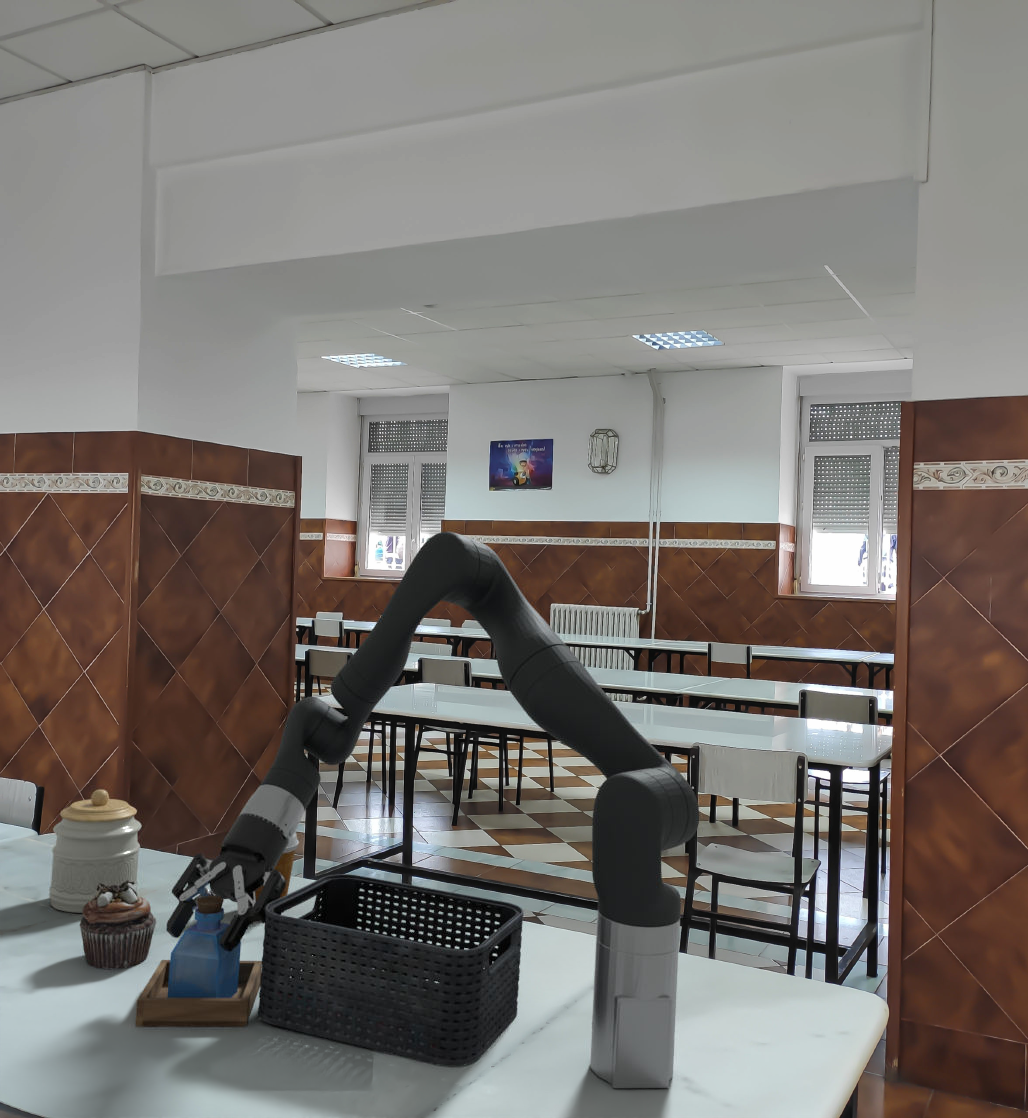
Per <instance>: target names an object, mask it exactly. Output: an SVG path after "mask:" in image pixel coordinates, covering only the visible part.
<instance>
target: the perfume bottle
mask: <svg viewBox="0 0 1028 1118" xmlns="http://www.w3.org/2000/svg"><path fill="white" fill-rule="evenodd" d="M224 901H225V899H223V898H221V897H217V896H206V897H201V898H199V899H198V900H197V904H198V908H196V909H195V910H194V920H195V921H196V923H194V924H193V925H191V926H190V927H189V928H187V929H184V931H183V934H181V936H180V939H179V940H178V941H177V943H176V944H175V946H174V948H172V950H171V952H170V959H169V960H170V971H169V983H168V996H167V998H231V997H232V996H233V995H234V994H236V993H237V989H238V976H239V963H240V961H241V949H242V947H241V946H242V940H241V941H240V943H239V944H238V945H237V946H236V948H233V950H232V951H231V952H229V951H225V950H224V949H223V948H222V947H221V945H220V943H219V942H220V939H221V937H222V936H223V934H224V932H225V930H226V929H227V927H228V925H229V923H224V922H222V920H224V917H225V915H224V914H225V909H224V908H223V904H224Z"/></svg>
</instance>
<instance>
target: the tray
mask: <svg viewBox="0 0 1028 1118" xmlns="http://www.w3.org/2000/svg"><path fill="white" fill-rule="evenodd" d="M169 971H170V959H162V960H161V961H160V962H159V964H158V965H157V967H156V969H155V970H154V972H153V973H152V975H151V977H150V978H149V980H148V982H147V983H146V985H145V987H144V988H143V990H142V991H141V993H140V994H139V996H138V997H137V999H136V1006H135V1007H136V1009H135V1010H136V1011H135V1012H136V1013H135V1023H134V1024H135V1025H134V1026H135V1027H181V1028H183V1027H202V1028H203V1027H204V1028H205V1027H210V1028H211V1027H212V1028H213V1027H221V1028H222V1027H223V1028H224V1027H227V1028H228V1027H229V1028H231V1027H232V1028H233V1027H235V1028H237V1027H241V1028H242V1027H244V1028H247V1025H248V1023H249V1020H250V1017H251V1014H252V1011H253V1008H254V1006H255V1002H256V1000H257V996H258V994H259V992H260V986H261V980H260V976H261V971H262V960H240V963H239V976H238V989H237V993H236V994H234V995H233V996H232V997H231V998H167V996H168V983H169Z"/></svg>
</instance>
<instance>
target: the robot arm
mask: <svg viewBox="0 0 1028 1118" xmlns="http://www.w3.org/2000/svg"><path fill="white" fill-rule="evenodd" d="M441 601H443V602H446V603H450V604H453V605H457V606H459V607H460V608H463V609H464V610H465V611H466V612H468V613H469V614H470V615H471V617H472V618H473V619H475V620H476V622H477V623H478V624H479V626H481V628H482V629H483V630H484V631H485V632H486V634H487V635H488V637H489V638H490V640H491V642H492V644H493V646H494V647H493V648H494V650H495V651H494V652H495V656H496V657H495V658H496V662H497V667H498V671H499V674H500V676H501V679H502V681H503V683H504V684H505V686H506V688H507V690H508V691H509V692H510V694H511V695H512V696H513V698H514V699H515V700H516V702H517V703H518V704H519V705H520V706H521V708H522V709H523V711H524V712H525V713H526V714H527V716H528V717H529V718H530V719H531V720H532V722H534V723H535V724H536V726H538V727H539V728H541V730H543V731H544V732H546V733H547V734H548V735H550V736H551V737H553V738H554V739H556V740H557V741H559V742H560V743H562V744H563V745H565V746H567V747H568V748H570V749H571V750H573V751H574V752H576V753H578V754H579V755H581V756H582V757H584V758H585V759H586V760H588V761H589V762H590V763H591V764H592V765H593V766H595V768H596V769H597V770H599V772H600V773H601V774H602V776H604V777H605V779H606V780H604V782H603V783H602V784H601V785H600V787H599V789H598V791H597V793H596V797H595V799H594V804H593V809H592V810H593V811H592V820H591V821H592V825H591V829H592V830H591V835H592V837H591V838H592V839H591V840H592V841H591V843H592V844H591V845H592V846H591V847H592V848H591V849H592V850H591V851H592V852H591V855H592V858H591V862H592V863H591V864H592V866H591V868H592V869H591V871H592V873H591V874H592V880H593V881H592V882H593V886H594V888H595V892H596V894H597V895H596V896H597V919H596V937H595V938H596V939H595V958H594V960H595V961H594V974H593V975H594V976H593V977H594V978H593V979H594V980H593V999H592V1016H591V1017H592V1018H591V1019H592V1021H591V1039H590V1040H591V1043H590V1044H591V1046H590V1068H591V1070H592V1072H593V1073H594V1074H595V1075H596V1076H598V1077H599V1078H601V1079H603V1080H604V1081H606V1082H608V1083H610V1085H611V1086H612V1088H614V1089H663V1088H664V1089H665V1088H667V1089H669V1087H670V1080H671V1079H672V1077H673V1075H674V1062H675V1061H674V1060H675V1059H674V1058H675V1038H676V1037H675V1036H676V1035H675V1034H676V1013H677V1011H676V1009H677V993H678V992H677V991H678V989H677V988H678V969H679V965H678V964H679V947H680V946H679V945H680V929H681V928H680V926H681V910H682V909H681V907H682V897H681V894H680V892H679V890H677V888H675V887H674V886H673V885H671V884H669V883H667V882H664V881H663V876H662V873H663V871H662V852H663V851H666V850H667V851H668V850H670V849H673V848H677V847H679V846H681V845H683V844H685V843H688V842H689V841H690V840H691V839H692V838H693V837H694V836H695V834H696V832H697V830H698V827H699V824H700V807H699V802H698V800H697V797H696V794H695V792H694V791H693V788H692V787H691V785H690V784H689V782H688V781H687V780H686V778H685V777H684V776H683V775H682V773H680V771H678V769H677V768H676V767H675V766H674V765H672V763H670V762H669V760H668V759H667V758H665V757H664V755H662V754H661V753H660V751H658V750H657V749H656V748H655V746H653V745H652V744H651V743H650V741H648V740H647V739H646V738H645V737H644V736H643V735H642V734H641V732H639V731H638V730H637V729H636V728H635V727H634V726H633V725H632V723H631V722H630V721H629V720H628V718H627V717H626V716H625V715H624V714H623V713H622V711H621V710H620V709H619V708H618V706H617V705H616V704H615V703H614V702H613V701H612V699H611V698H610V697H609V696H608V694H606V692H605V691H604V690H603V689H602V688H601V686H600V685H599V684H598V683H597V682H596V680H595V679H594V678H593V677H592V675H591V674H590V673H589V671H588V670H587V668H586V667H585V666H584V664H583V663H582V662H581V661H580V660H579V659H578V657H577V656H576V655H575V654H574V652H572V650H571V649H570V648H569V646H568V645H567V644H566V643H565V642H564V641H563V640H562V638H560V636H559V635H557V633H556V632H555V630H553V628H552V627H551V626H550V625H549V624H548V622H547V621H546V620H545V619H544V618H543V616H541V615H540V614H539V612H538V611H537V610H536V609H535V608H534V607H533V606H532V605H531V604H530V602H529V601H528V600H527V598H526V597H525V595H524V594H523V592H522V591H521V590H520V588H519V587H518V584H516V582H515V580H514V579H513V577H512V576H511V574H510V573H509V571H508V569H507V567H506V566H505V564H504V563H503V561H502V559H501V558H500V557H499V555H498V554H497V553H496V552H495V551H494V550H493V549H492V548H491V547H489V546H488V545H487V544H485V543H483V542H481V541H479V540H476V539H473V538H470V537H467V536H465V535H463V534H459V533H457V532H452V531H441V532H438V533H435V534H434V535H432V536H431V537H429V539H427V540H426V541H425V543H424V544H423V545H422V546H421V547H420V548H419V550H418V552H417V553H416V554H415V556H414V558H413V559H412V561H411V563H410V565H409V566H408V568H407V570H406V572H405V573H404V575H403V577H402V578H401V580H400V581H399V583H398V585H397V587H396V588H395V590H394V591H393V594H392V596H391V598H390V600H389V601H388V603H387V604H386V606H385V608H384V610H383V612H382V613H381V615H380V617H379V618H378V620H377V621H376V623H375V625H374V627H373V628H372V630H371V631H370V632H369V634H367V636H366V638H365V639H364V640H363V642H362V643H361V645H360V646H359V647H358V648H357V649H356V650H355V652H354V653H353V654H352V656H351V657H350V658H349V659H348V660H347V661H346V663H345V664H344V665H343V666H342V668H341V669H340V670H339V671H338V673H337V674H336V675H335V676H334V678H333V680H332V681H331V684H330V692H331V695H332V696H333V699H335V701H336V702H337V704H338V705H340V707H341V708H342V709H343V710H344V712H345V713H346V714H347V716H345V715H344V714H342V713H341V712H339V711H337V709H335V708H333V707H332V706H331V705H329V704H327V703H326V702H325V701H323V700H322V699H320V698H318V697H316V696H307V697H304V698H302V699H300V700H299V701H297V702H296V703H295V704H294V706H293V707H292V708H291V710H289V711H290V712H289V713H288V716H287V718H286V720H285V721H286V722H285V724H284V728H283V732H282V737H281V740H280V744H279V747H278V750H277V754H276V756H275V758H274V760H273V763H272V764H271V767H270V768H269V770H268V771H267V773H266V775H264V778H263V779H262V781H261V783H260V784H259V785H258V788H257V789H256V790H255V792H253V794H252V795H251V796H250V798H249V799H248V801H247V802H245V803H246V804H245V805H244V806H243V808H242V810H241V812H240V813H239V815H238V816H237V818H236V820H235V821H234V823H233V825H232V826H231V828H230V830H229V831H228V833H227V834H226V835H225V837H224V839H223V841H222V844H221V850H220V852H219V854H218V856H216V857H215V858H214V859H213V860H212V859H207V858H205V857H204V855H203V854H202V853H197V854H195V855H194V857H193V858H192V860H191V861H190V862H189V864H188V865H187V867H186V868H185V870H184V871H183V873H182V874H181V876H180V877H179V879H178V880H177V882H176V883H175V884H174V886H173V887H172V889H171V894H172V895H173V896H174V897H175V898H176V899H177V900H178V904H177V905H176V907H175V909H174V910H173V911H172V914H171V915H170V917H169V919H168V920H167V922H166V927H165V928H166V932H167V933H168V934H169V935H170V936H171V937H174V938H179V937H181V936H182V933H184V931H185V929H186V927H187V925H188V923H190V920H191V918H192V917H193V916H194V914H195V910H196V909H197V908H198V904H197V900H198V899H199V898H201V897H206V896H217V897H221V898H223V899H224V900H230V901H232V902H234V903H236V905H237V915H236V914H234V915H233V917H232V919H231V920H230V922H229V923H228V924H229V925H228V927H227V929H226V930H225V932H224V934H223V936H222V937H221V939H220V942H219V943H220V945H221V947H222V948H223V949H224V950H225V951H229V952H231V951H232V950H233V948H236V946H237V945H238V944H239V943H240V941H241V942H242V939H243V937H244V936H245V934H246V932H247V930H248V928H249V927H250V926H251V925H253V924H254V923H257V922H260V923H261V924H265V921H266V913H265V910H266V906H267V905H268V904H269V903H271V902H273V901H275V900H277V899H279V898H280V896H281V894H282V892H283V890H284V888H285V886H286V884H287V882H286V880H285V879H284V877H283V876H282V875H281V873H280V872H279V871H278V870H274V868H275V866H276V865H277V863H278V861H279V859H280V858H281V856H282V854H283V852H284V850H285V849H286V847H287V845H288V843H289V842H290V840H291V838H292V836H293V835H294V833H296V832H297V829H298V827H299V825H300V822H301V820H302V817H303V815H304V813H305V811H306V809H307V808H308V806H309V805H310V802H311V801H312V799H313V797H314V795H316V792H317V790H318V789H319V787H320V783H321V774H320V772H319V770H318V768H317V767H316V766H315V765H314V764H313V762H312V761H311V760H310V759H309V758H308V756H307V755H306V754H305V753H306V752H307V753H308V754H310V755H312V756H313V757H315V758H316V759H318V760H319V761H320V762H322V763H324V764H326V765H329V766H337V765H340V764H342V763H344V762H345V761H346V760H348V759H349V758H350V756H351V755H352V753H353V752H354V749H355V748H356V746H357V743H358V740H359V738H360V735H361V733H362V730H363V728H364V726H365V724H366V722H367V720H368V718H369V717H370V715H371V713H372V711H373V710H374V708H375V707H376V705H377V704H378V703H379V702H381V700H382V699H383V698H384V697H385V695H386V694H387V692H388V691H390V689H391V688H392V687H393V685H394V684H395V683H396V682H397V680H398V679H399V677H400V676H401V674H402V672H403V670H404V668H405V666H406V664H407V661H408V658H409V654H410V651H411V646H412V641H413V639H414V635H415V633H416V632H417V628H418V627H419V625H420V624H421V622H422V621H423V619H424V618H425V617H426V616H427V615H428V613H429V612H431V611H432V610H433V609H434V608H435V607H436V606H437V605H439V603H440V602H441ZM304 750H305V751H306V752H305V751H304ZM270 872H271V873H270ZM208 885H209V888H210V890H209V889H207V888H206V887H207V886H208ZM263 885H264V887H263V889H262V891H261V893H260V895H259V896H258V898H257V900H256V901H255V891H256V890H257V889H259V888H260V887H261V886H263Z"/></svg>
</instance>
